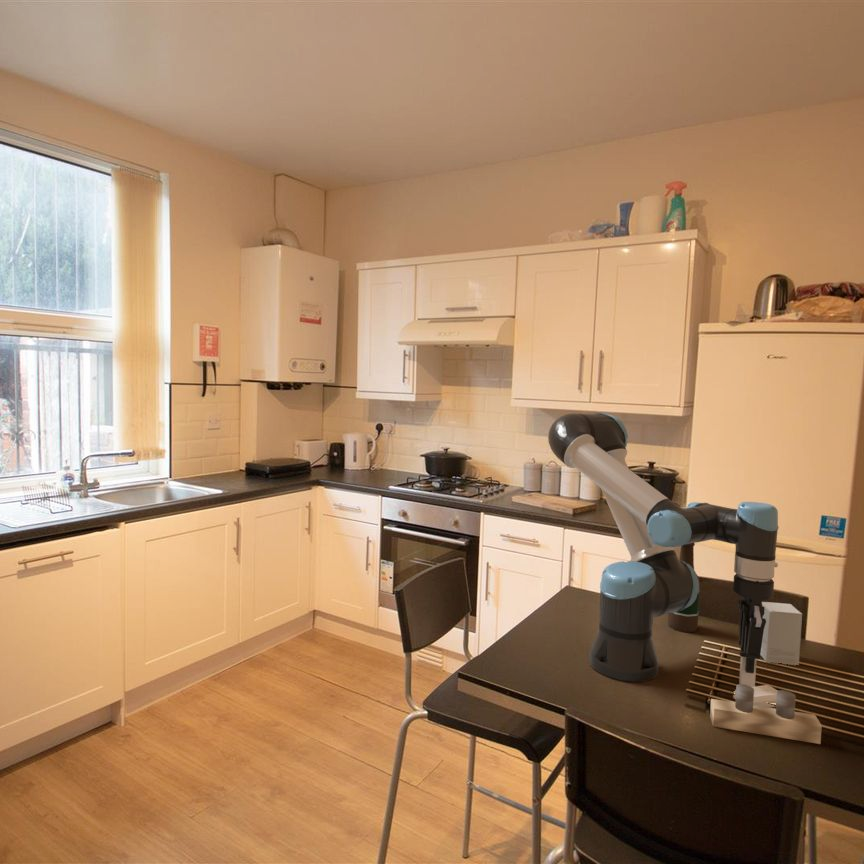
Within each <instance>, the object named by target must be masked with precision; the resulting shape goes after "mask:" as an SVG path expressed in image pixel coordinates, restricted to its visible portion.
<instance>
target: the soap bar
mask: <svg viewBox="0 0 864 864" xmlns="http://www.w3.org/2000/svg"><path fill="white" fill-rule="evenodd" d="M752 688H753V689H754V699H753V705H755V706H762V707H768V708H775V707H776V706H774V705H771V704H768V703H777V691H778V690H777V689H776V688H774V687H773V686H771V685H769V684H764V685H755V687H752ZM733 693H735V694H736V689H735V690H734V691H733ZM732 698H733V699H734V700H736V695H733V694H732ZM766 702H768V703H766Z"/></svg>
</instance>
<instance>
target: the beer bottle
mask: <svg viewBox="0 0 864 864" xmlns="http://www.w3.org/2000/svg"><path fill="white" fill-rule="evenodd" d="M695 545H696V544H695V543H690V544H685V545H683V546H680V551H679V558H678V559H679V560H682V561H684V562H685V563H687V564H689V565H690V566H691V567H692V568H693V569H694V570H695V565H694V562H695V561H694V560H695V559H694V555H695V554H694V546H695ZM695 573H696V575H697V577H698V582H699V591H698V594H697V598H696V600H695V601H694V603H693V604H692V605H690V606H689V607H687V608H685V609H683V610H681V611H678V612H675V613H669V614H667V617H668V618H667V621H668V622H667V626H668V627H669V628H671V629H672V628H673V630H675V631H677V630H678V632H682V631H683V633H694V632H696V631H697V628H698V625H699V609H700V591H701V582H700V579H699V576H698V574H697V572H696V571H695Z"/></svg>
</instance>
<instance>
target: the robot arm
mask: <svg viewBox="0 0 864 864" xmlns="http://www.w3.org/2000/svg"><path fill="white" fill-rule="evenodd" d="M628 435H629V434H628V431H627V428H626V426H625V424H624V423H623V421H622V420H621V419H619V418H618V417H617V416H615V415H612V414H608V413H603V412H596V413H566V414H564V415H561V416H559V417H558V418H557V419H555V421H553V423H552V424H551V426H550V427H549V430H548V435H547V436H548V437H547V438H548V445H549V447H550V450H551V452H552V453H553V454H554V455H555V457H556V458H557V459H558V460H559V461H560V462H562V463H563V464H564V465H565V466H566V467H568V468H570V469H577V470H578V471H579V472H580V473H582V474H583V475H584V476H585V477H587V478H588V479H589V480H590V481H592V482H593V483H594V484H596V485H597V486H598V487H599V489H601V493H602V494H603V497H604V499H605V501H606V503H607V505H608V507H609V510H610V513H611V515H612V517H613V519H614V521H615V523H616V526H617V528H618V530H619V532H620V535H621V538H622V539H623V542H624V544H625V546H626V548H627V551H628V553H629V555H630V560H629V561H627V562H626V561H624V560H623V561H622V560H621V561H618V562H613V563H610V564H609V565H607V566H605V567H604V569H603V570H602V573H601V579H600V580H601V581H600V583H599V588H600V591H599V592H600V593H599V594H600V595H599V599H600V600H599V618H598V620H599V621H598V623H599V624H598V632H597V633H596V636H595V639H594V641H593V644H592V646H591V649H590V651H589V664H590V667H592V668H593V670H595V671H596V672H598V673H599V674H601V675H603V676H606V677H609V678H612V679H615V680H619V681H624V682H625V681H626V682H646V681H651V680H652V679H654V678H656V677H657V676H658V674H659V660H658V655H657V652H656V648H655V646H654V641H653V623H654V622H653V621H654V618H658V617H661V616H662V617H663V616H666V615H668V614H669V613H675V612H678V611H681V610H683V609H685V608H687V607H689V606H690V605H692V604H693V603H694V601H695V600H696V598H697V594H698V591H699V582H698V578H699V576H698V574H697V572H696V571H695V568H694V569H693V568H692V567H691V566H690V565H689V564H687V563H685V562H684V561H682V560H679V559H680V558H679V557H678V555H677V553H676V551H675V549H674V548H676V547H681V546H683V545H685V544H690V543H701V542H705V541H707V542H708V541H710V540H711V541H713V540H714V541H719V542H724V543H727V544H728V543H729V544H732V545H735V551H734V552H735V554H734V563H733V564H734V567H733V571H734V573H735V574H734V575H733V584H732V587H733V588H732V590H733V592H734V593H735V595H737V596H740V597H742V599H740V598H739V599H738V610H739V611H738V612H739V613H738V614H739V617H738V621H739V623H738V625H739V626H738V627H739V628H738V629H739V630H738V646H739V647H740V648H739V651H740V652H739V657H740V663H739V664H740V665H739V682H738V683H739V684H743V685H748V686H750V687H755V686H756V674H757V660H760V659H761V655H760V653H761V646H762V639H763V632H764V627H765V624H766V619H764V618H763V615H764V606H762V602H764V601H765V600H771V599H772V598H774V597H773V596H774V590H775V589H774V588H775V587H774V586H775V581H774V580H773V578H775V568H777V567H778V566H779V564H778V562H776V554H777V553H776V551H777V541H778V540H777V538H778V530H779V522H778V521H779V515H778V514H779V511H778V509H777V507H776V506H774V505H772V504H770V503H766V502H757V501H741V502H739V504H738V505H737V509H736V508H732V507H727V506H720V505H716V504H710V503H708V502H698V501H695V502H694V501H693V502H690V503H688V504H687V506H685V507H684V508H682V507H681V506H679V505H677V504H676V503H675V502H674V501H672V500H671V499H669V497H667V496H666V495H664V494H663V493H661V492H660V491H659V490H658V489H656V488H655V487H653V486H652V485H651V484H649V483H648V482H647V481H646V480H644V479H643V478H642V477H640V476H639V475H637V474H636V473H635V472H633V471H632V470H631V469H629V466H628V464H627V462H626V457H627V455H628V450H627V445H628V439H629V436H628ZM695 572H696V573H695ZM696 574H697V575H696ZM697 576H698V577H697Z"/></svg>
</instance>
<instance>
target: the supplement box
mask: <svg viewBox="0 0 864 864" xmlns="http://www.w3.org/2000/svg"><path fill="white" fill-rule="evenodd" d="M762 606H764V615H763V618H764V619H766V624H765V627H764V632H763V639H762V646H761V653H760V657H761V658H763V660H764V661H765V662H766V663H769V662H773V663H772V664H778V663H782V664H781V665H787V664H788V666H790V665H791V666H796V665H798V666H799V665H800V652H801V651H800V650H801V641H802V640H801V639H802V637H801V636H802V623H803V622H802V621H803V613H802V612H801V611H800V610H798V609H797V608H796V607H795V606H793V604H791V603H781V602H771V601H770V602H768V601H762Z"/></svg>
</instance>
